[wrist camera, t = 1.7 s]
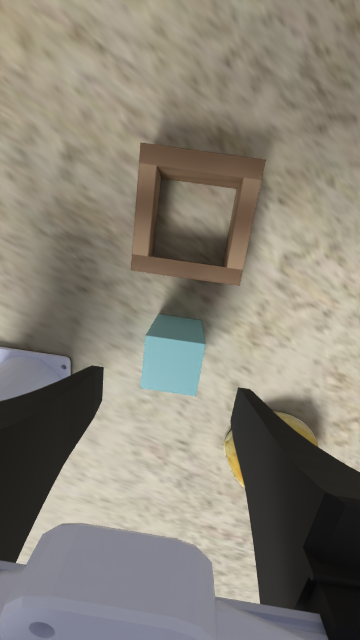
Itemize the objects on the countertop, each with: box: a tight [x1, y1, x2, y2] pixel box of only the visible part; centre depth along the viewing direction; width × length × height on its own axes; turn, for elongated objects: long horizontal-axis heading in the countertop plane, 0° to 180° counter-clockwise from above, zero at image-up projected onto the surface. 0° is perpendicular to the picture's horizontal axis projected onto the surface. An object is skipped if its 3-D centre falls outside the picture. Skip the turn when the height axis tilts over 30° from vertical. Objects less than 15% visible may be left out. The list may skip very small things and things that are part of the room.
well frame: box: [131, 143, 266, 286], centre depth 17 cm, size 8×8×2 cm
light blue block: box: [140, 314, 205, 396], centre depth 18 cm, size 4×4×6 cm
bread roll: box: [223, 411, 318, 488], centre depth 22 cm, size 8×9×4 cm
